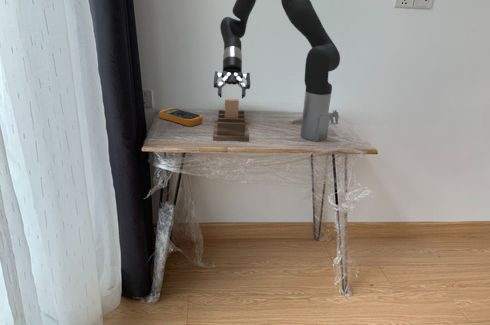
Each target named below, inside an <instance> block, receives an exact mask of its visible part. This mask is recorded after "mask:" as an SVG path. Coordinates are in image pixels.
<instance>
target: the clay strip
mask: <svg viewBox="0 0 490 325" xmlns="http://www.w3.org/2000/svg"><path fill="white" fill-rule="evenodd" d="M239 103H240V100H239V98H225V99H224V110H225V118H237V119H238V111H239V105H240V104H239Z"/></svg>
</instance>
